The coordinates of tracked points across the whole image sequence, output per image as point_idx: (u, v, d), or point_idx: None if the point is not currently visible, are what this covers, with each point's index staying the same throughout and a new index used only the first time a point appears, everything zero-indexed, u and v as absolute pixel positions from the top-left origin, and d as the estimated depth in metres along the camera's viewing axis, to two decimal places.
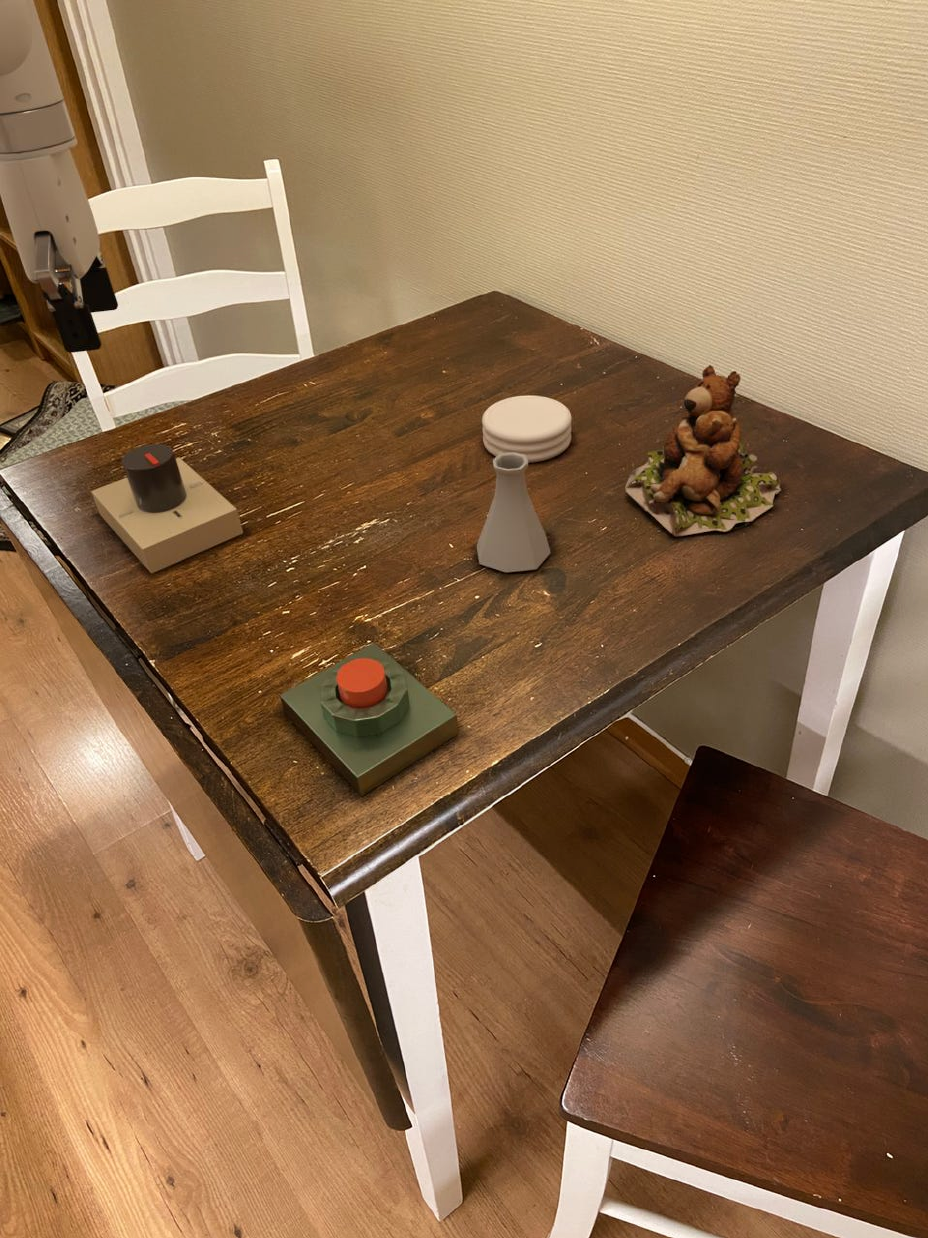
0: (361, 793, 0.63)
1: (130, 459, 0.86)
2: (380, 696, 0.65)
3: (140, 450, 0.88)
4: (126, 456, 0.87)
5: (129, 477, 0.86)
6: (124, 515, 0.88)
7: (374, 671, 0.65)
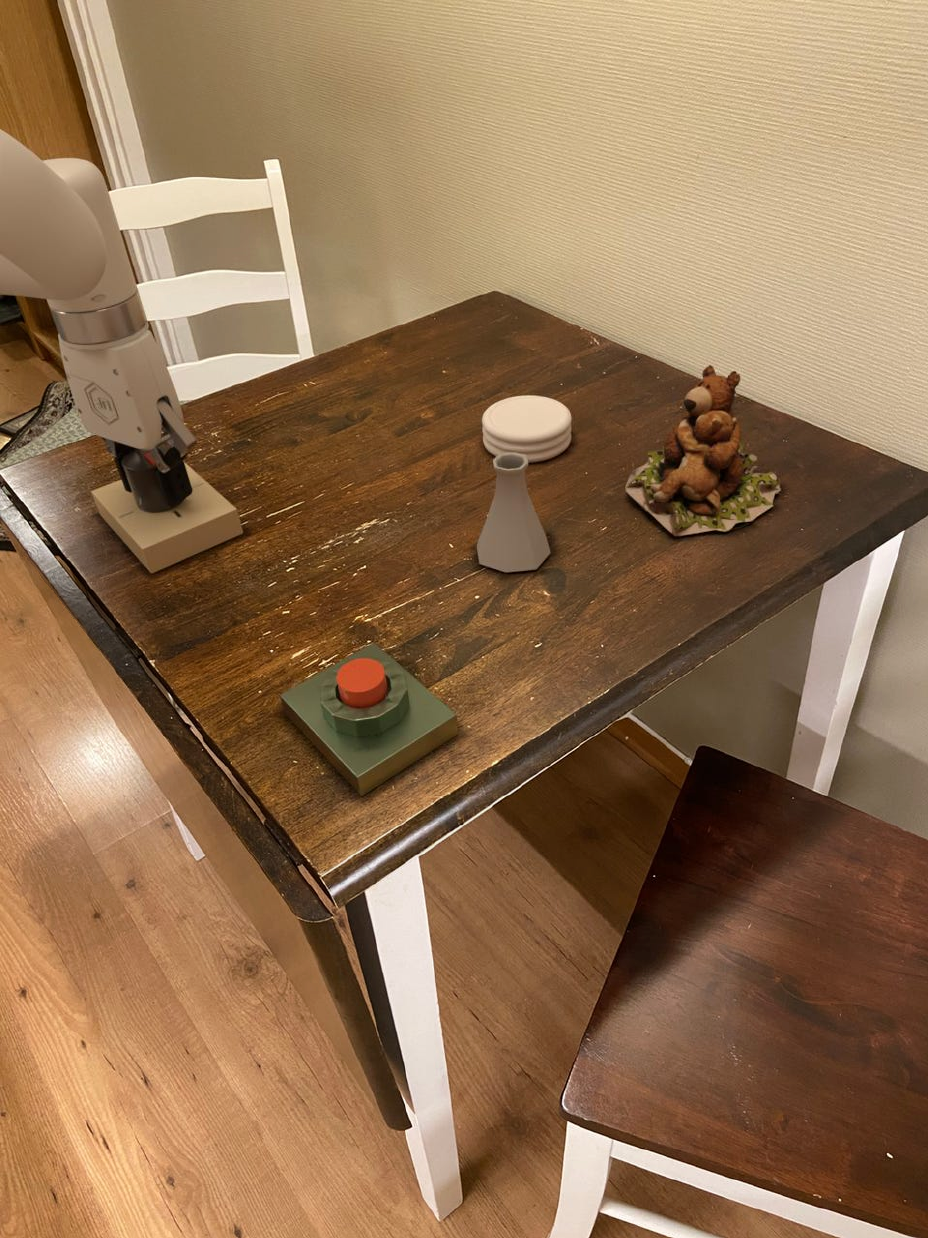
0: (361, 793, 0.63)
1: (130, 459, 0.86)
2: (380, 696, 0.65)
3: (140, 450, 0.88)
4: (126, 456, 0.87)
5: (129, 477, 0.86)
6: (124, 515, 0.88)
7: (374, 671, 0.65)
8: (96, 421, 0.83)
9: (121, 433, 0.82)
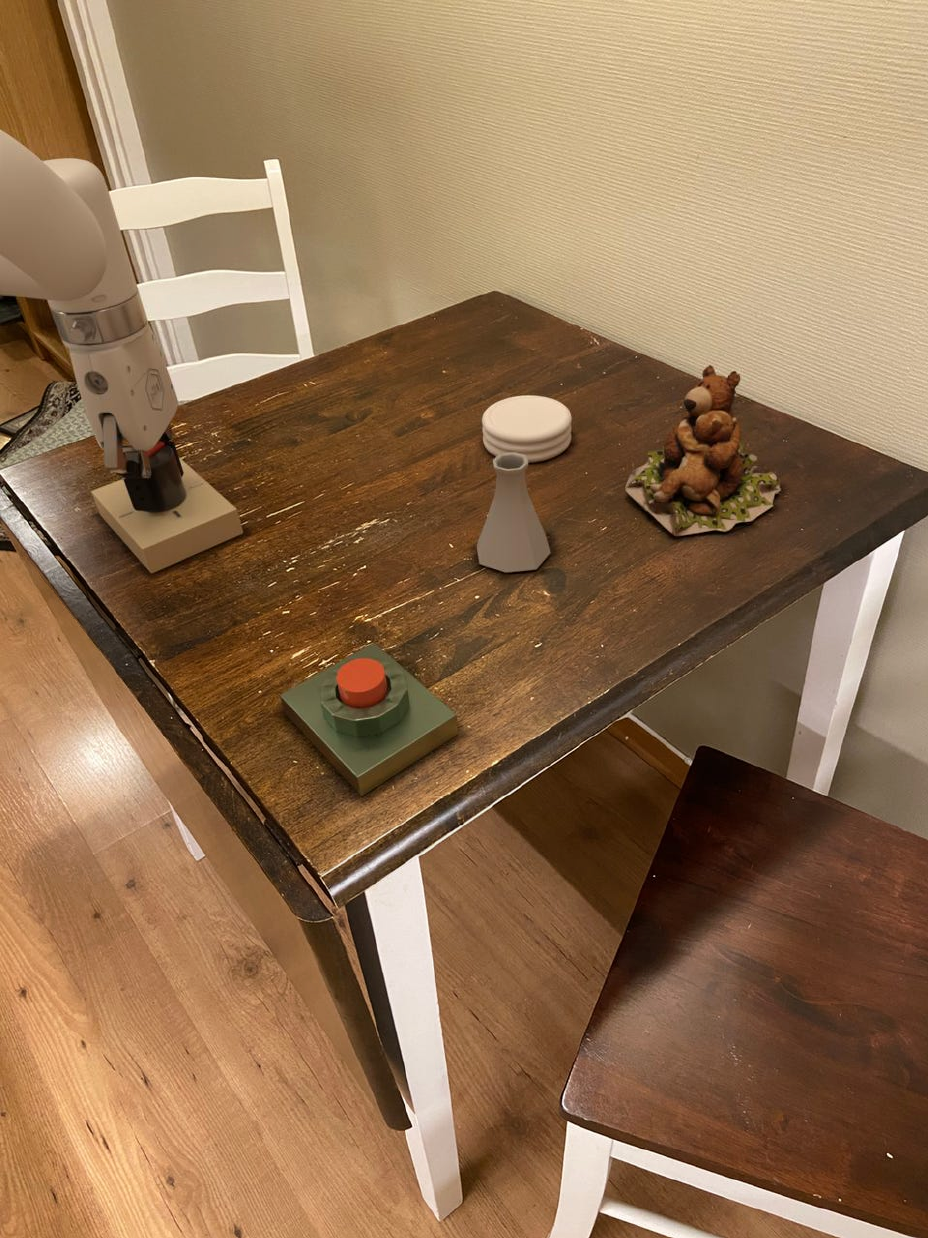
0: (361, 793, 0.63)
1: (156, 461, 0.86)
2: (380, 696, 0.65)
3: None
4: (151, 466, 0.85)
5: (174, 467, 0.87)
6: (124, 515, 0.88)
7: (374, 671, 0.65)
8: (156, 421, 0.82)
9: (168, 409, 0.85)
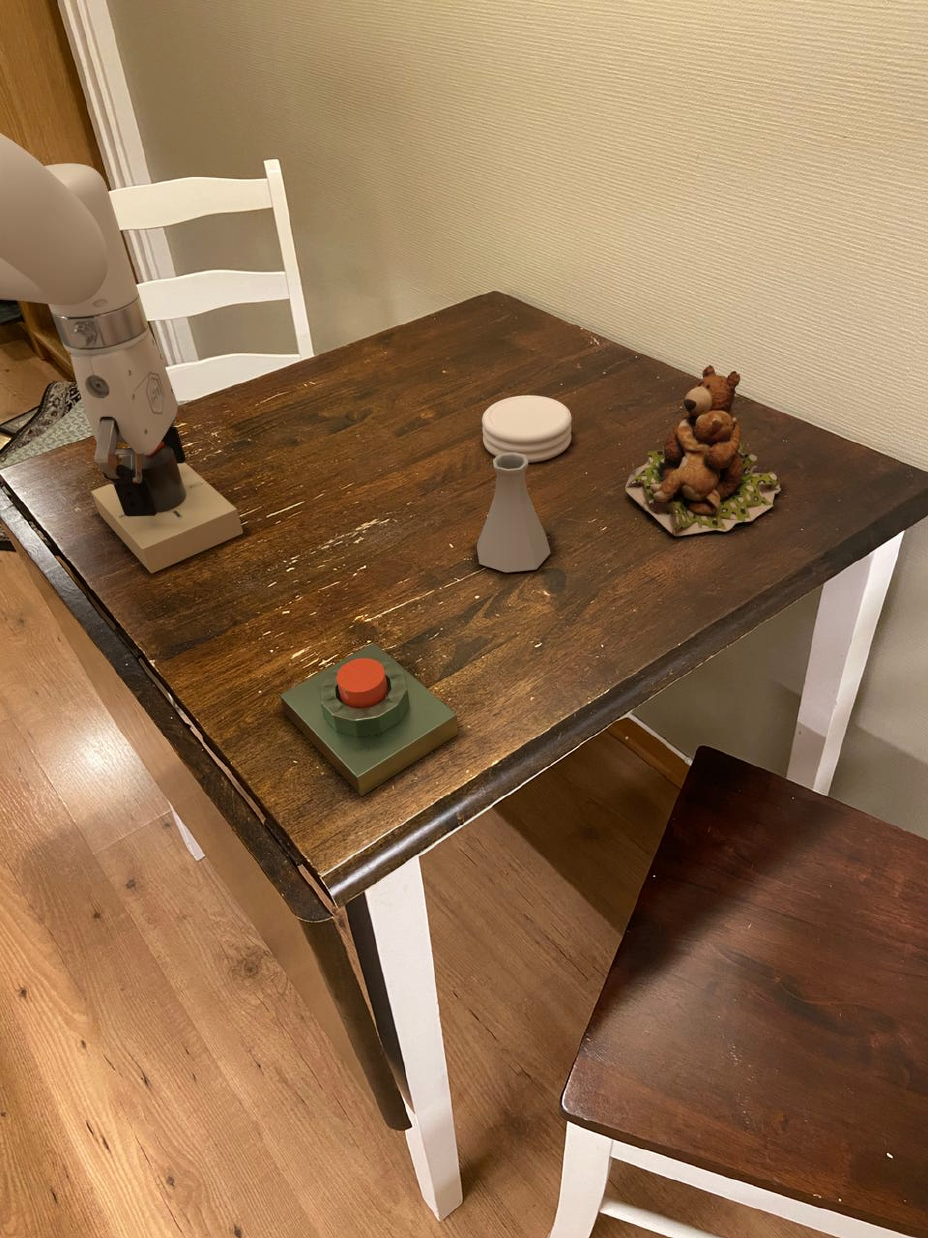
0: (361, 793, 0.63)
1: (156, 461, 0.86)
2: (380, 696, 0.65)
3: None
4: (151, 466, 0.85)
5: (174, 467, 0.87)
6: (124, 515, 0.88)
7: (374, 671, 0.65)
8: (156, 424, 0.82)
9: (168, 413, 0.85)
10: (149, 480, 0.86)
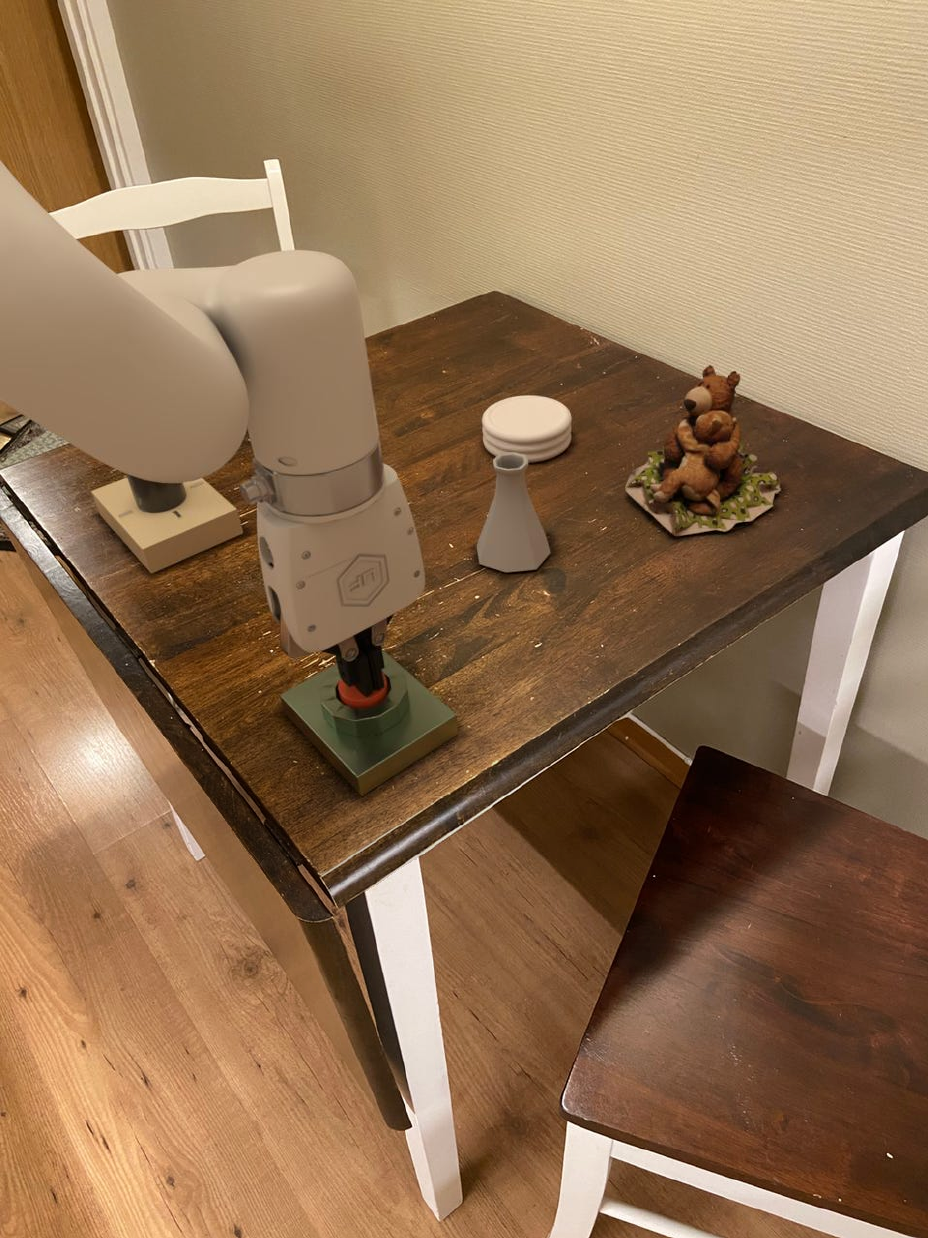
0: (361, 793, 0.63)
1: None
2: None
3: None
4: None
5: None
6: (124, 515, 0.88)
7: None
8: (344, 619, 0.57)
9: (386, 603, 0.59)
10: None
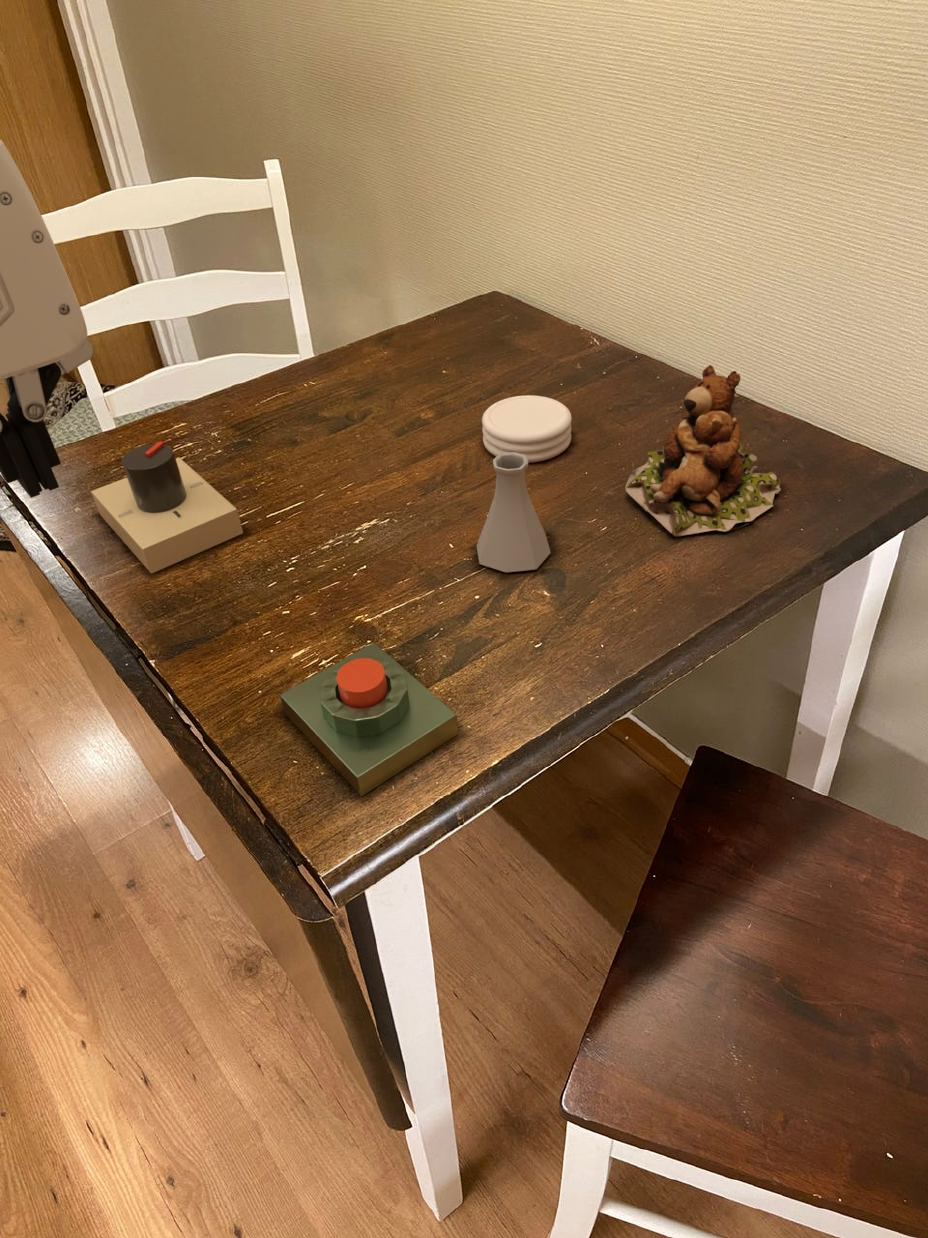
0: (361, 793, 0.63)
1: (156, 461, 0.86)
2: (380, 696, 0.65)
3: (137, 464, 0.86)
4: (151, 466, 0.85)
5: (174, 467, 0.87)
6: (124, 515, 0.88)
7: (374, 671, 0.65)
8: None
9: (18, 346, 0.43)
10: (149, 480, 0.86)
